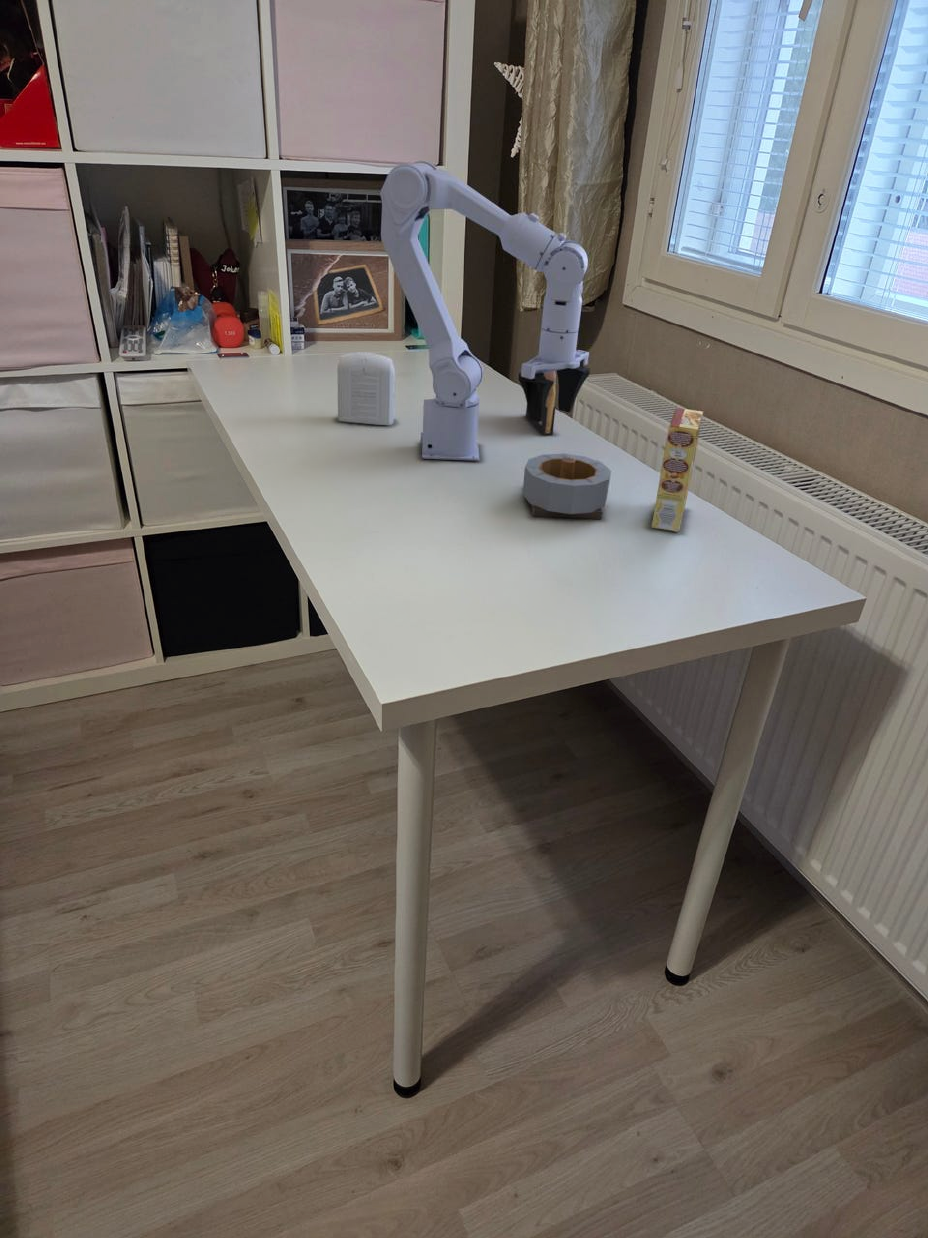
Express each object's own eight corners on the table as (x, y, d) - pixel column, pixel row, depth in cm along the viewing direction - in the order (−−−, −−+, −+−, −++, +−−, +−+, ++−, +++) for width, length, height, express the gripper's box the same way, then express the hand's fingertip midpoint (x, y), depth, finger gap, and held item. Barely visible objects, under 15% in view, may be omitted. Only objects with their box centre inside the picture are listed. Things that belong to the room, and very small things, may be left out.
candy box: (679, 533, 121) (700, 429, 113) (649, 528, 122) (668, 424, 114) (684, 510, 128) (705, 410, 120) (656, 505, 129) (674, 406, 121)
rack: (533, 516, 123) (538, 471, 119) (527, 489, 132) (531, 446, 128) (601, 519, 124) (608, 474, 120) (590, 492, 132) (596, 449, 128)
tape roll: (525, 512, 121) (528, 483, 119) (518, 478, 132) (521, 451, 130) (614, 515, 122) (618, 487, 120) (600, 481, 133) (603, 454, 131)
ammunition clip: (552, 434, 154) (560, 368, 148) (543, 435, 154) (550, 368, 147) (534, 416, 163) (540, 352, 157) (525, 416, 162) (531, 352, 156)
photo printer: (395, 419, 157) (396, 351, 150) (392, 427, 153) (393, 358, 147) (340, 415, 157) (338, 347, 151) (336, 423, 153) (334, 353, 147)
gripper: (550, 340, 123) (541, 431, 130) (608, 327, 132) (596, 413, 139) (513, 330, 127) (506, 419, 134) (572, 319, 136) (562, 402, 143)
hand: (550, 415), depth 137 cm, fingers open, 7 cm apart
